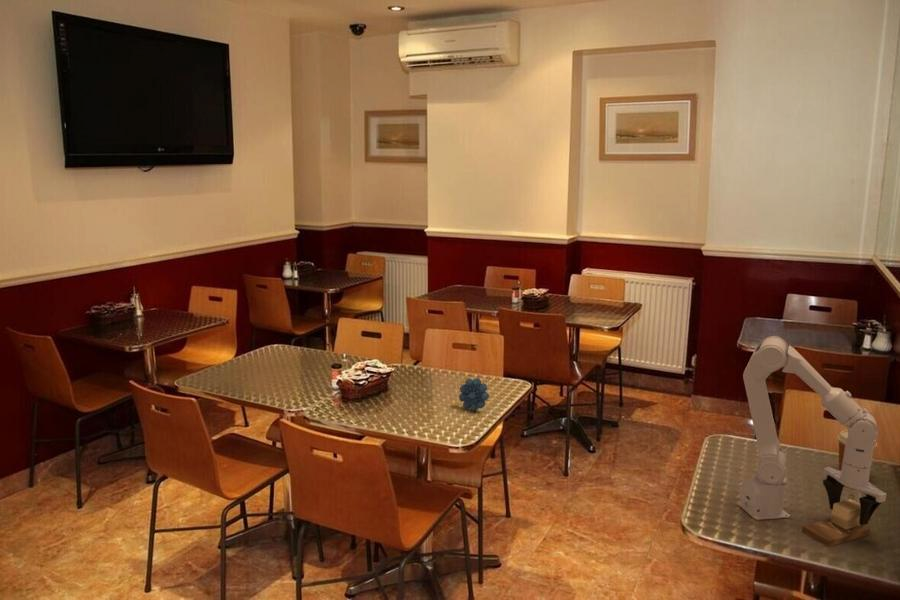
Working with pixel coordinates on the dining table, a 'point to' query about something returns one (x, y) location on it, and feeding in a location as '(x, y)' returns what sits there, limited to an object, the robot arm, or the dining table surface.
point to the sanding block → (846, 515)
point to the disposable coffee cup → (842, 440)
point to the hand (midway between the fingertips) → (848, 516)
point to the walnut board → (833, 532)
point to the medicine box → (850, 494)
